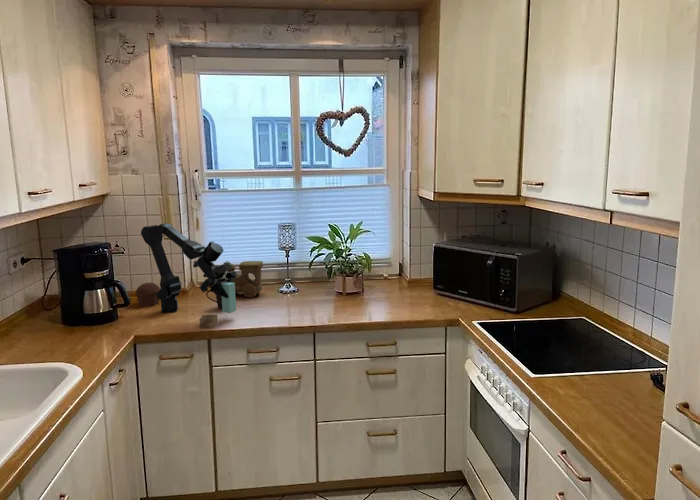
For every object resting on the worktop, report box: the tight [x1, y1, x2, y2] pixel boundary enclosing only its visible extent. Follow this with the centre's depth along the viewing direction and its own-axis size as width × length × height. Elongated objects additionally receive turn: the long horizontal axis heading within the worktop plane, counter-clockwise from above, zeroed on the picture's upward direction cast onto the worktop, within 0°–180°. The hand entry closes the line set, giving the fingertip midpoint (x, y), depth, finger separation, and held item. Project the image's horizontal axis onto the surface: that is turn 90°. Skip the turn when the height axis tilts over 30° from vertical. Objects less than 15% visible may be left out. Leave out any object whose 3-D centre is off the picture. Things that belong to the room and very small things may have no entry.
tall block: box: [221, 282, 237, 314], centre depth 223 cm, size 4×4×12 cm
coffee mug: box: [205, 290, 222, 310], centre depth 242 cm, size 12×9×10 cm
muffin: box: [134, 282, 161, 307], centre depth 249 cm, size 12×11×10 cm
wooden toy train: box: [227, 260, 264, 299], centre depth 263 cm, size 20×11×17 cm, turn 87°
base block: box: [198, 314, 219, 329], centre depth 216 cm, size 6×6×4 cm
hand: (231, 296), depth 222 cm, fingers closed on tall block, 4 cm apart
